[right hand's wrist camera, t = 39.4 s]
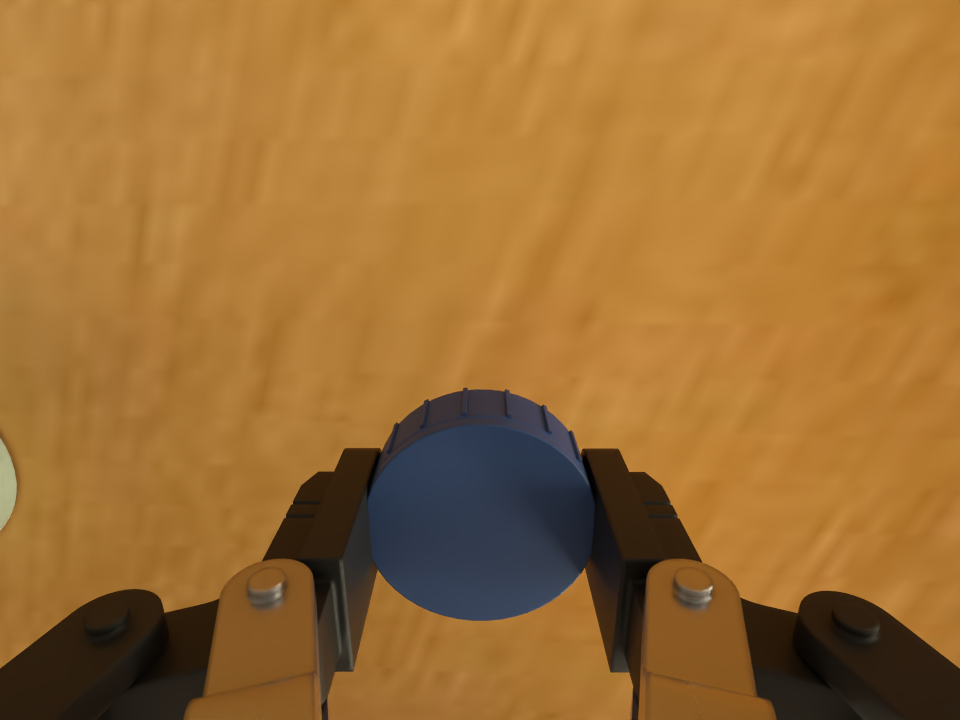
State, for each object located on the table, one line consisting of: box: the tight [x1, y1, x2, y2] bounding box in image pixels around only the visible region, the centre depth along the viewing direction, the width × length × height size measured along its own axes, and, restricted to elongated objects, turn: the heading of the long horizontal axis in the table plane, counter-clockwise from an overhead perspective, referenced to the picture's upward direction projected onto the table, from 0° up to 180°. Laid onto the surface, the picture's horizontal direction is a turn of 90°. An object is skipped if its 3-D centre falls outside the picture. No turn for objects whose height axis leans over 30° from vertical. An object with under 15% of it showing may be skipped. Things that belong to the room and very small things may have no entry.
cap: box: [368, 388, 595, 621], centre depth 12 cm, size 4×4×2 cm
